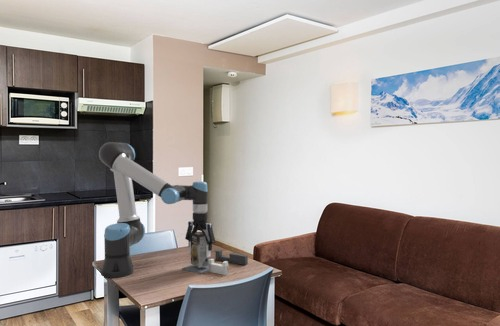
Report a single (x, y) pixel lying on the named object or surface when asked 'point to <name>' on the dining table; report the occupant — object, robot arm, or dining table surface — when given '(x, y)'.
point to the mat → (196, 269)
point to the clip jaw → (218, 267)
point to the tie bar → (232, 258)
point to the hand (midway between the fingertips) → (200, 255)
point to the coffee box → (199, 250)
